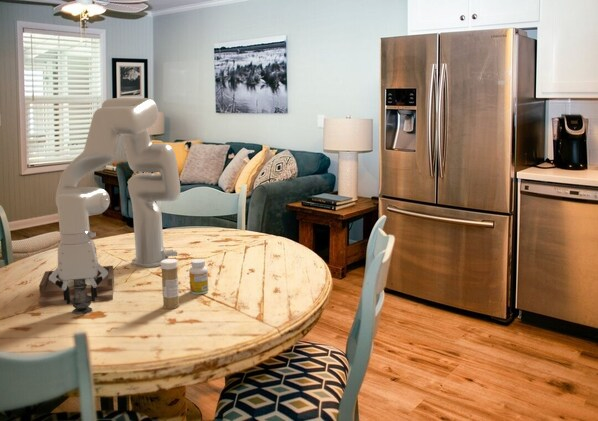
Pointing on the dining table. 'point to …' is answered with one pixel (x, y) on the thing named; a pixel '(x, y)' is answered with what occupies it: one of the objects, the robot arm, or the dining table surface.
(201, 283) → the supplement bottle
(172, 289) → the sprinkles bottle
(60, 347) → the dining table surface
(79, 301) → the salt shaker
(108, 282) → the wooden tray
